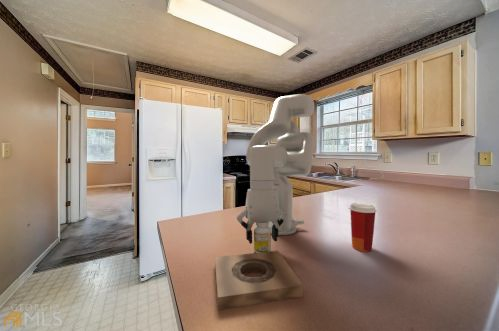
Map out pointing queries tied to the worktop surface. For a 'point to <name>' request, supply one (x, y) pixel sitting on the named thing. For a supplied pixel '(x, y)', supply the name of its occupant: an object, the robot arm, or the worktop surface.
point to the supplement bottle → (262, 237)
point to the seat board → (254, 279)
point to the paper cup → (362, 226)
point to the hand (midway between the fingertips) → (262, 240)
